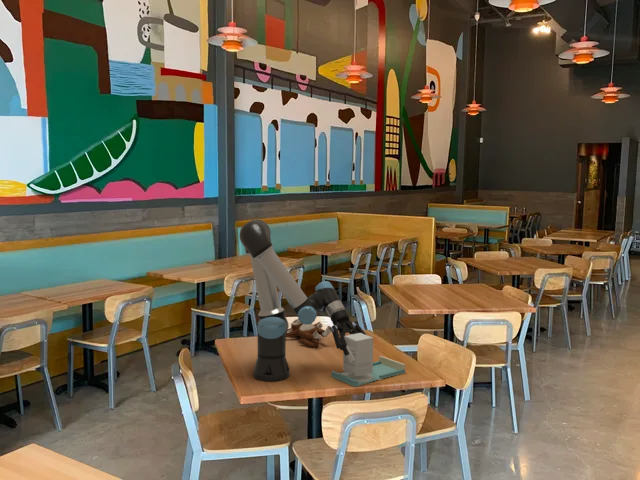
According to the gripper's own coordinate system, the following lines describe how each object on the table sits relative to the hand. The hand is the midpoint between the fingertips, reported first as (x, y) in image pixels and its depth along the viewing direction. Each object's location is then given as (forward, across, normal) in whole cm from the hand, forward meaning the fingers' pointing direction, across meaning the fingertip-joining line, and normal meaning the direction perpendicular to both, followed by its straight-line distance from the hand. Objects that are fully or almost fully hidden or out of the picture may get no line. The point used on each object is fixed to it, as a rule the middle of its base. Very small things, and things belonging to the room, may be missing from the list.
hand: (361, 359), depth 233 cm
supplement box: (+3, 0, -6) cm, 7 cm away
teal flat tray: (+4, -7, -8) cm, 12 cm away
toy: (-36, -16, -49) cm, 63 cm away
